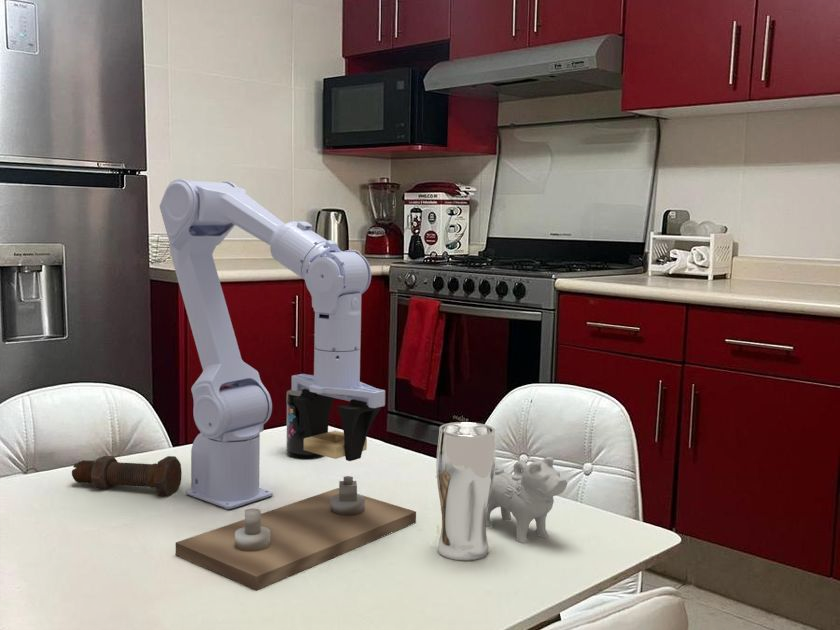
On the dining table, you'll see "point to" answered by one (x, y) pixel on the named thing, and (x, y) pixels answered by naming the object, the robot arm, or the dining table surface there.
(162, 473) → the bolt
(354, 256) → the robot arm
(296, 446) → the supplement container
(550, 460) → the dog figurine
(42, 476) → the dining table surface
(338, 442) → the square wooden ring
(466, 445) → the beer glass
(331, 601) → the dining table surface
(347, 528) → the board
